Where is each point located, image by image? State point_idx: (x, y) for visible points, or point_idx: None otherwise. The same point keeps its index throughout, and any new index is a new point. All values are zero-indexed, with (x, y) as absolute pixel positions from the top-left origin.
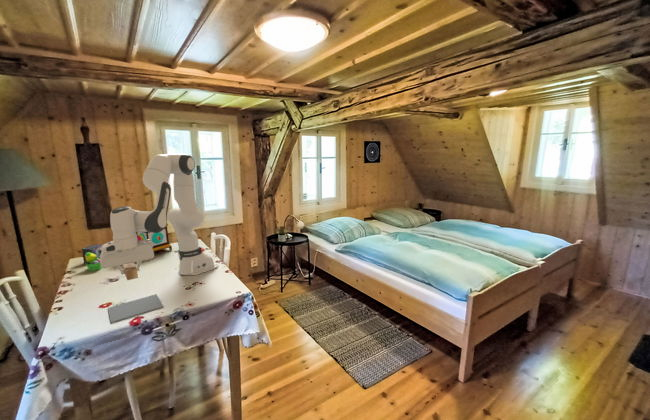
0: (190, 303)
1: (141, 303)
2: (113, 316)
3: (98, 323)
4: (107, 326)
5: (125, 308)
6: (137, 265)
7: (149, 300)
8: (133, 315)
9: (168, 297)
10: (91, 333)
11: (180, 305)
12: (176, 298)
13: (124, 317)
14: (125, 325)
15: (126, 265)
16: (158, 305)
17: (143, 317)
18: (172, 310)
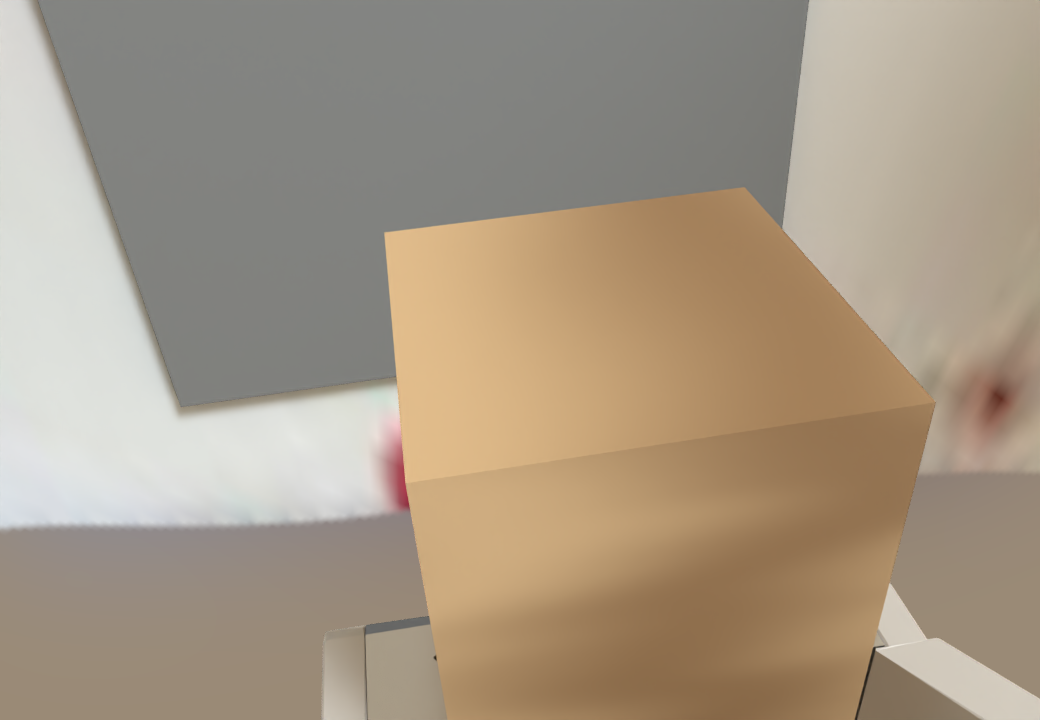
0: (1010, 381)
1: (546, 58)
2: (178, 274)
3: (9, 314)
4: (155, 438)
5: (314, 101)
6: (912, 710)
7: (668, 18)
8: None
9: (921, 36)
10: (13, 499)
11: (916, 371)
12: (978, 149)
13: (327, 374)
14: (349, 502)
15: (566, 705)
16: None
17: None
18: None
